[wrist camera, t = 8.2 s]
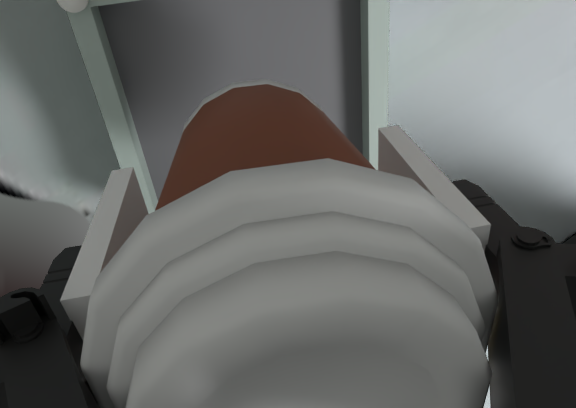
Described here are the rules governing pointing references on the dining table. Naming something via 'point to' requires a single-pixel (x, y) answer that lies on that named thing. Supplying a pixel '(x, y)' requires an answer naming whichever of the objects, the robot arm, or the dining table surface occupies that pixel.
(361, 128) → the pale green square tray
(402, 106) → the dining table surface
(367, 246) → the coffee cup
